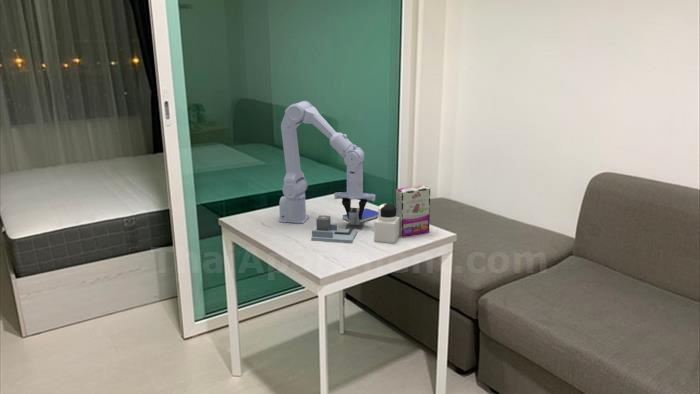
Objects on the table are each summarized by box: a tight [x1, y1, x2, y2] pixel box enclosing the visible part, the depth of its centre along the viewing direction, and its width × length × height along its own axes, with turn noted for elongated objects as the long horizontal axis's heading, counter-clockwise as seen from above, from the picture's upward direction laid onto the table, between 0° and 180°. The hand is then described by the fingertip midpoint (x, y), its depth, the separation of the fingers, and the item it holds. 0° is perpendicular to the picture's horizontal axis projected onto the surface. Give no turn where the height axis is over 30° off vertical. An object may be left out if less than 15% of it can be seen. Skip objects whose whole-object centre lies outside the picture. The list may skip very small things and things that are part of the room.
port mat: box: [344, 221, 365, 231], centre depth 193 cm, size 6×6×1 cm
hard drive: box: [342, 208, 378, 223], centre depth 201 cm, size 2×8×12 cm
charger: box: [315, 215, 332, 231], centre depth 183 cm, size 4×4×6 cm
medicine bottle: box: [373, 203, 400, 244], centre depth 179 cm, size 7×7×12 cm
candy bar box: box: [395, 184, 431, 238], centre depth 183 cm, size 11×5×16 cm, turn 114°
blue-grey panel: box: [310, 223, 358, 244], centre depth 184 cm, size 14×12×3 cm
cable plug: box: [348, 207, 360, 225], centre depth 191 cm, size 4×4×6 cm
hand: (354, 218), depth 192 cm, fingers closed on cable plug, 3 cm apart
